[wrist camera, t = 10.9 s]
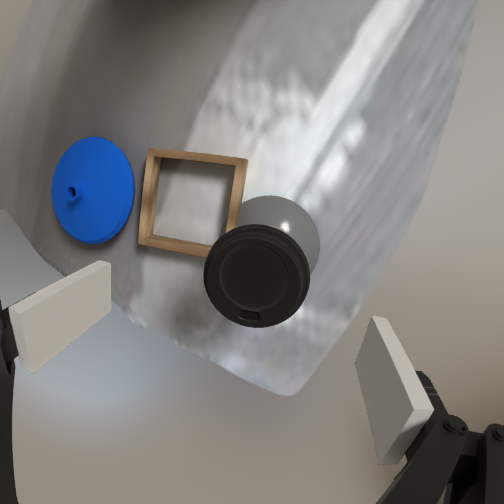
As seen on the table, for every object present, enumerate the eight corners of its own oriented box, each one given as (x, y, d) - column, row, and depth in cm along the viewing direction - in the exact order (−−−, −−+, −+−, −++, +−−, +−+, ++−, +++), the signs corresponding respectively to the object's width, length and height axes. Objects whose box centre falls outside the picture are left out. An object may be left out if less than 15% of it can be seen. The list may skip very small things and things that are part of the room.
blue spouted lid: (119, 118, 39) (92, 111, 33) (160, 211, 42) (137, 218, 35) (52, 172, 43) (24, 174, 36) (87, 256, 45) (60, 267, 38)
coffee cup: (247, 290, 42) (223, 346, 27) (221, 224, 40) (181, 250, 26) (315, 268, 40) (324, 317, 25) (291, 199, 38) (288, 210, 24)
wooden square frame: (156, 149, 40) (148, 148, 37) (248, 160, 38) (245, 158, 36) (146, 240, 43) (138, 243, 40) (233, 257, 42) (229, 262, 39)
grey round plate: (228, 188, 40) (227, 188, 39) (328, 205, 38) (328, 206, 38) (215, 282, 43) (213, 284, 42) (307, 300, 42) (308, 302, 41)
